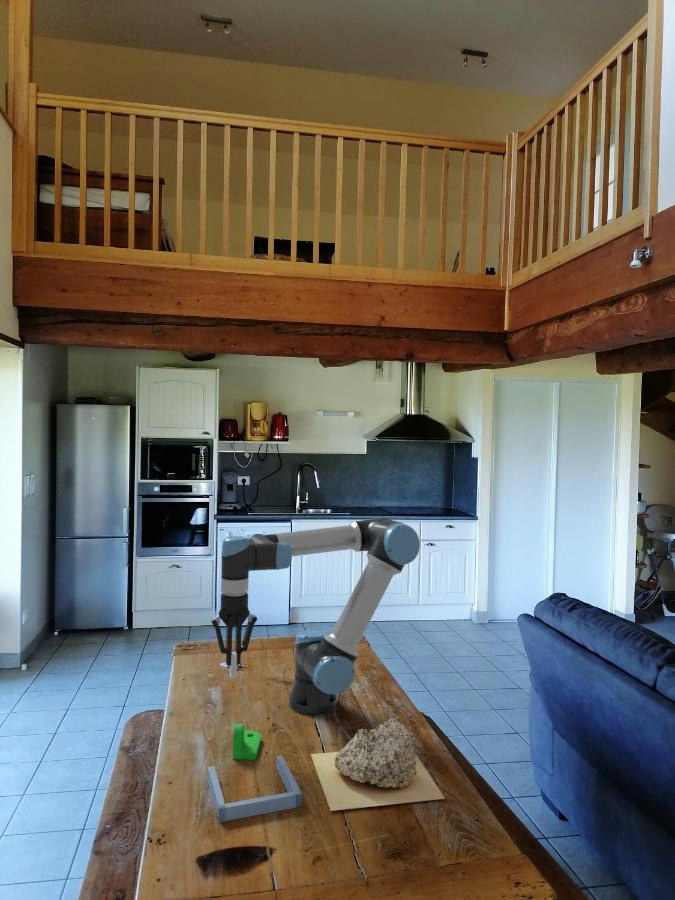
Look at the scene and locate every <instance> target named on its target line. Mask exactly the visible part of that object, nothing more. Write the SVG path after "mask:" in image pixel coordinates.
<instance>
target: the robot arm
mask: <svg viewBox="0 0 675 900" xmlns="http://www.w3.org/2000/svg"><path fill="white" fill-rule="evenodd" d="M420 545H421V543H420V539H419V535H418V533H417V531H415V529H414V528H413V527H411V526H410V525H408V524H405V523H403V522H401V521H400V522H399V521H397V520H393V519H390V518H387V517H378V518H371V519H364V520H356V521H351V523H350V524H348V525H341V526H334V527H323V528H315V529H307V530H296V531H290V532H279V533H274V534H273V533H270V534H262V533H252V534H251V535H248V537H246V536H241V535H240V536H239V535H233V536H226V537H224V538H223V540H222V544H221V577H220V581H221V583H220V586H221V587H220V592H221V593H220V610H219V612H218V615H216V616H215V617H211V618H210V622H211V624H212V625H213V627H214V631H215V634H216V635H215V636H216V639H217V644H218V648H219V651H220V653H222V654H225V664H226V666H227V667H229V673H228V674H229V678H230V679H232V680H233V679H237V671H238V670H237V669H238V668H237V667H238V666H240V665H241V658H242V657H241V655H242V653H244V652H247V651H248V647H249V644H250V641H251V638H252V632H253V629H254V625H255V624H256V622H257V621H258V617H257V615H255V614H252V613H251V612H250V610H249V593H248V592H249V574H250V573H249V572H255V571H272V570H273V571H274V570H278V571H279V570H286V569H288V568H290V566H291V564H292V559H293V558H292V557H300V556H307V555H314V554H316V555H317V554H325V553H331V552H340V551H347V550H353V551H354V552H367V553H366V557H367V560H368V562H367V564H366V565H365V567H364V569H363V570H362V571H363V572H362V573H361V575H360V577H359V579H358V580H357V583H356V585H355V587H354V589H353V591H352V593H351V595H350V596H349V598H348V600H347V602H346V605H345V606H344V608H343V610H342V612H341V614H340V616H339V618H338V619H337V622H336V623H335V625H334V627H333V629H332V631H328V630H320V629H319V630H318V629H317V630H316V629H314V630H305V631H301V632H299V633H297V634H296V636H295V643H294V645H295V648H294V649H295V650H294V653H295V655H294V657H295V658H294V680H293V681H294V682H293V684H292V688H291V691H290V693H289V696H288V707H289V708H290V710H292V711H294V712H295V713H299V714H302V715H310V716H313V715H315V716H316V715H323V714H324V715H325V714H327V713H330V712H332V711H334V710H335V709H336V707H337V700H338V699H337V695H338V694H340V693H343V692H344V691H345V692H346V690H347V689H349V688H350V687H351V686H352V684H353V682H354V680H355V675H356V672H355V666H354V664H355V663H356V661H357V659H358V656H359V653H358V645H359V643H360V641H361V639H362V638H363V636H364V634H365V632H366V630H367V628H368V626H369V625H370V622H371V620H372V618H373V616H374V614H375V612H376V610H377V608H378V607H379V604H380V602H381V601H382V598H383V597H384V595H385V592H386V590H387V588H388V587H389V585H390V583H391V582H392V579H393V578H394V576H396V575H398V574H401V573H402V571H403V569H404V567H405V565H407V564H408V565H409V564H410V563H412V562H414V561H415V560H416V558H417V557H418V555H419V552H420V547H421V546H420ZM246 620H247V623H246V626H245V627H246V628H245V631H244V635H243V639H242V630H243V628H242V627H243V624H244V623H245V622H246ZM221 621H222V622H223V623H224V625H225V628H226V632H225V644H224V639H223V635H222V630H221V627H220V624H221ZM233 627H234V628H235V631H234V632H235V634H234V635H235V638H234V639H235V640H234V642H235V643H234V649H235V650H234V651H233V630H234V629H233Z"/></svg>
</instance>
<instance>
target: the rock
mask: <svg viewBox="0 0 675 900" xmlns="http://www.w3.org/2000/svg"><path fill="white" fill-rule="evenodd" d="M310 756H311V758H312V763H313V765H314V767H315V770H316V773H317V776H318V779H319V782H320V784H321V788H322V790H323V794H324V797H325V798H326V801H327V805H328V807H329V810H330V812H332V811H334V812H335V811H340V810H341V811H342V810H344V811H345V810H350V809H351V810H352V809H360V808H368V807H379V806H381V807H382V806H389V805H398V804H406V803H407V804H408V803H414V802H415V803H416V802H419V803H420V802H425V801H426V802H427V801H433V800H434V801H435V800H445V799H446V797H445V796H444V795H443V793H442V791H441V790H440V788H439V787H438V785H436V781H434V780H433V778H432V776H431V775H430V773H429V771H428V770H427V769H426V767H425V766H424V764H423V762H422V761H421V760H420V757H419V756H418V754H417V753H416V748H415V746H414V743H413V740H412V738H411V735H410V733H409V730H408V729H407V727H406V726H405V725H404V724H402V723H400V722H399V721H398V720H397V719H395V718H390V719H388V720H385V721H383V722H382V723H381V724H379V725H377V727H375V728H370V729H369V728H361V729H358V730H357V732H356V733H355V734H354V736H353V738H351V740H350V741H349V742H347V744H346V745H345V746H343V747H342V748H341V749H340V750H339V751H333V752H322V753H310Z"/></svg>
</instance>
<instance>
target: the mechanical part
mask: <svg viewBox="0 0 675 900" xmlns="http://www.w3.org/2000/svg"><path fill="white" fill-rule="evenodd" d="M232 735H233V736H232V737H233V738H232V760H252V761H253V760H254V761H256V760H257V755H258V753H259V750H260V747H261V743H262V742H261V741H262V734H261V733H259V732H258V731H256V730H245V725H244V724H243V723H235V724H234V728H233V734H232Z"/></svg>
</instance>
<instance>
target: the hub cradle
mask: <svg viewBox="0 0 675 900" xmlns="http://www.w3.org/2000/svg"><path fill="white" fill-rule="evenodd" d="M275 768H276V769H277V772H278V774H279V776H280V779H281V780H282V782H283V784H284V786H285V788H286V791H287V792H283V793H279V794H278V793H277V794H272V795H267V796H266V795H265V796H260V797H255V798H250V799H244V800H239V801H233V802H228V803H227V802H225V799H224V795H223V792H222V789H221V785H220V783H219V779H218V775H217V772H216V768H215V766H214V765H213V766H208V767H207V781H208V782H207V783H208V785H209V789H210V794H211V796H212V800H213V803H214V808H215V812H216V815H217V818H218V822H219V823H221V822H223V823H224V822H227V821H234V820H238V819H244V818H249V817H253V816H254V817H255V816H260V815H264V814H270V813H275V812H280V811H285V810H292V809H296V808H301V807H303V793H302V790H301V789H300V786H299V785H298V783H297V781H296V780H295V778H294V775H293V772H291V770H290V768H289V766H288V764H287V762H286V760H285V758H284V756H283V755H277V756H276V767H275Z"/></svg>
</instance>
